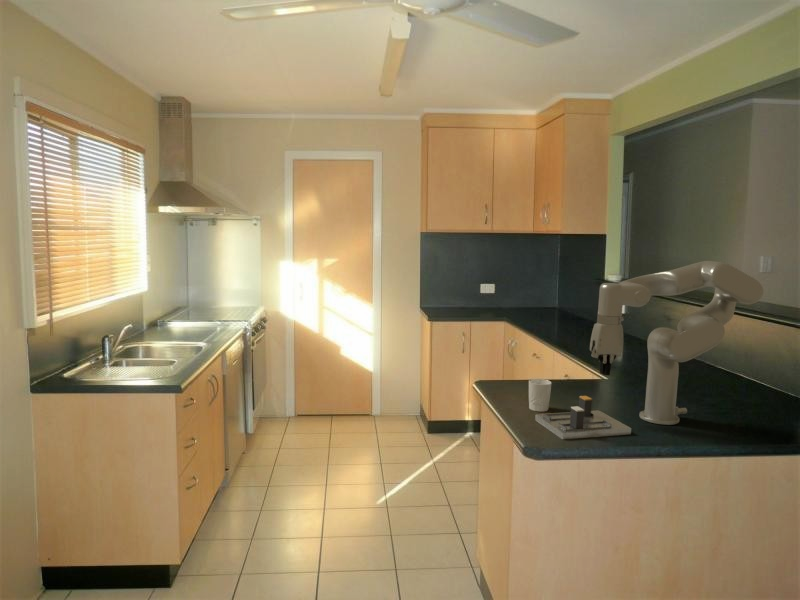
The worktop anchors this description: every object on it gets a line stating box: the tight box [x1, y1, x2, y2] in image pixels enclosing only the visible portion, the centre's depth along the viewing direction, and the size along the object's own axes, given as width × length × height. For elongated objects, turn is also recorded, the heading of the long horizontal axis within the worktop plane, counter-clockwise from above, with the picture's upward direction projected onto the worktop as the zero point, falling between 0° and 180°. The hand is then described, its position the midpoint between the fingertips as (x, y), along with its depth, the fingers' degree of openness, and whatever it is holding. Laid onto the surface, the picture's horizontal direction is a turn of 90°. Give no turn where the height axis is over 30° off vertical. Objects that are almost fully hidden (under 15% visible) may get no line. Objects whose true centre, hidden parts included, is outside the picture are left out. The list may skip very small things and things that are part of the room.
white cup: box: [528, 378, 552, 413], centre depth 209 cm, size 8×8×10 cm
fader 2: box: [578, 395, 593, 417], centre depth 197 cm, size 2×4×6 cm
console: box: [534, 410, 632, 440], centre depth 191 cm, size 24×18×3 cm
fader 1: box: [570, 405, 584, 429], centre depth 185 cm, size 2×4×6 cm
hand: (604, 374), depth 197 cm, fingers closed
